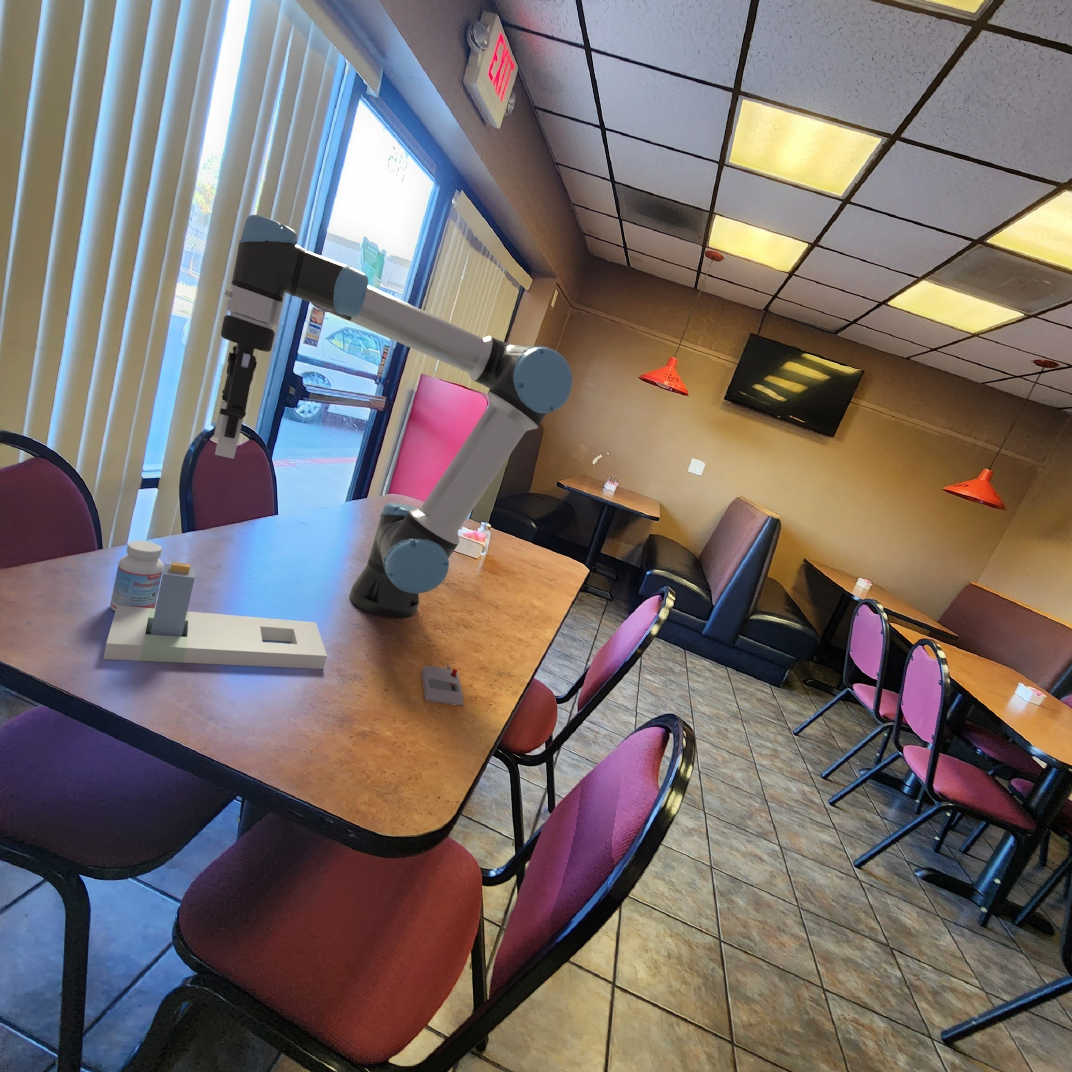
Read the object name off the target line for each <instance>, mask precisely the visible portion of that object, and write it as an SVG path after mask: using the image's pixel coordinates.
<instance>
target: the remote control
mask: <svg viewBox="0 0 1072 1072" xmlns="http://www.w3.org/2000/svg"><path fill="white" fill-rule="evenodd" d="M421 677H423V678H422V684H423V693H424V701H427V702H432V703H440V704H446V705H451V704H453V705H452V706H457V705H462V706H461V707H463V706H464V694H463V690H462V685H461V681H460V676H459V673H458V671H457V668H453V669H451V667H450V665H449V663H448V662H446V668H445V667H440V666H439V667H438V666H435V665H434V666H432V665H431V664H429V665H424V666H423V667H422V671H421ZM454 704H455V705H454Z"/></svg>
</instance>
